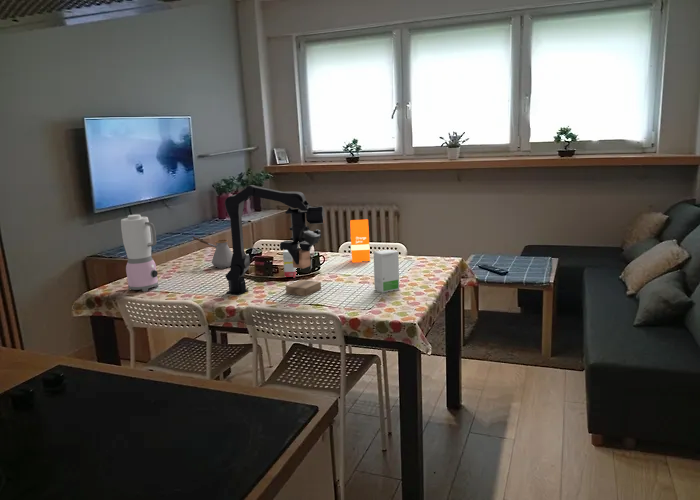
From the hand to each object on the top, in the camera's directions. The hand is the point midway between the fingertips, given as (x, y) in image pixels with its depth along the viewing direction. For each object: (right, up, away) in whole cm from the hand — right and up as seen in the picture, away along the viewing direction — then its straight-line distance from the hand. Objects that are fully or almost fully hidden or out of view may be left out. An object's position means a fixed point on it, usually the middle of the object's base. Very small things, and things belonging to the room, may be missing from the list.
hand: (301, 262), depth 222 cm
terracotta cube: (0, -1, 0) cm, 2 cm away
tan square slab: (+1, -11, +3) cm, 12 cm away
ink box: (-7, -7, +28) cm, 30 cm away
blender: (-69, -12, +19) cm, 72 cm away
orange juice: (+25, 0, +50) cm, 56 cm away
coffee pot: (-47, -3, +53) cm, 71 cm away
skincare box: (+34, -11, -1) cm, 36 cm away
